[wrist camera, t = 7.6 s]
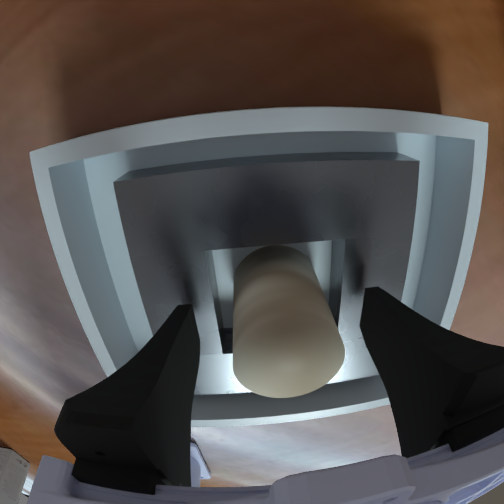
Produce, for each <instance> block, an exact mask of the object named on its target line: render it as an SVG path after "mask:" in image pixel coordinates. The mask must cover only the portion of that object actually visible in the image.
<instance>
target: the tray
mask: <svg viewBox="0 0 504 504" xmlns="http://www.w3.org/2000/svg"><path fill="white" fill-rule="evenodd" d="M487 142H488V123H486V122H481V121H476V120H471V119H466V118H460V117H454V116H448V115H442V114H434V113H426V112H417V111H408V110H396V109H383V108H366V107H335V106H305V107H274V108H256V109H242V110H231V111H220V112H211V113H202V114H194V115H187V116H180V117H173V118H167V119H161V120H155V121H149V122H143V123H138V124H133V125H128V126H123V127H118V128H114V129H109V130H105V131H100V132H96V133H92V134H88V135H84V136H80V137H76V138H72V139H69V140H66V141H62V142H59V143H56V144H52V145H49V146H46V147H43V148H40V149H37V150H34V151H31V152H29V154H30V159H31V165H32V170H33V175H34V179H35V184H36V189H37V193H38V197H39V201H40V205H41V209H42V213H43V217H44V220H45V224H46V227H47V231H48V234H49V238H50V241H51V244H52V247H53V250H54V254H55V257H56V260H57V263H58V265H59V268H60V271H61V274H62V277H63V280H64V282H65V285H66V288H67V290H68V293H69V295H70V298H71V300H72V303H73V305H74V308H75V310H76V313H77V315H78V317H79V320H80V322H81V324H82V327H83V329H84V331H85V333H86V336H87V338H88V340H89V342H90V344H91V346H92V348H93V350H94V352H95V355H96V357H97V359H98V361H99V363H100V365H101V366H102V368H103V370H104V372H105V374H106V376H107V377H109V376H110V375H111V374H113V373H114V372H115V371H117V370H118V369H119V368H121V367H122V366H123V365H125V364H126V363H127V362H128V361H129V360H130V359H131V358H133V357H134V356H135V355H136V354H137V353H138V352H139V351H140V350H141V349H142V348H143V347H144V346H145V345H146V343H147V342H148V341H149V340H150V339H151V338H152V337H153V334H152V331H151V328H150V325H149V322H148V319H147V316H146V312H145V309H144V306H143V303H142V299H141V296H140V293H139V289H138V286H137V282H136V279H135V275H134V271H133V268H132V264H131V260H130V256H129V252H128V248H127V244H126V240H125V236H124V232H123V227H122V223H121V219H120V214H119V209H118V205H117V200H116V195H115V190H114V185H113V182H114V181H115V180H117V179H118V178H120V177H121V176H122V175H124V174H125V173H127V172H128V171H132V170H138V169H144V168H151V167H158V166H165V165H172V164H180V163H188V162H196V161H205V160H214V159H224V158H235V157H247V156H260V155H275V154H294V153H320V152H398V153H401V154H403V155H406V156H408V157H411V158H414V159H416V160H419V161H420V165H419V180H418V193H417V203H416V213H415V221H414V229H413V237H412V244H411V251H410V257H409V263H408V269H407V274H406V280H405V285H404V290H403V295H402V300H401V302H402V303H403V304H405V305H406V306H408V307H409V308H411V309H412V310H414V311H415V312H417V313H419V314H420V315H422V316H424V317H425V318H427V319H429V320H430V321H432V322H434V323H436V324H438V325H440V326H442V327H444V328H446V329H448V330H450V327H451V324H452V321H453V318H454V315H455V312H456V309H457V306H458V303H459V299H460V296H461V293H462V289H463V286H464V282H465V278H466V275H467V271H468V267H469V263H470V259H471V254H472V250H473V245H474V241H475V236H476V231H477V225H478V220H479V214H480V208H481V201H482V194H483V187H484V178H485V169H486V157H487ZM280 245H283V246H288V247H291V248H294V249H296V250H298V251H300V252H301V253H303V254H304V255H305V256H306V257H307V258H308V259H309V261H310V262H311V264H312V266H313V269H314V271H315V273H316V276H317V278H318V281H319V283H320V286H321V288H322V290H323V293H324V295H325V298H326V300H327V303H329V288H330V270H331V249H332V240H329V241H316V242H304V243H292V244H280ZM268 246H271V245H268ZM262 247H265V246H256V247H244V248H232V249H220V250H212V253H213V260H214V267H215V274H216V281H217V287H218V294H219V300H220V307H221V313H222V319H223V325H224V328H233V288H234V275H235V272H236V269H237V267H238V265H239V264H240V263H241V261H242V260H243V259H244V258H245V257H246V256H247V255H249V254H250V253H251V252H253V251H255V250H257V249H259V248H262ZM388 404H390V401H389V398H388V395H387V391H386V389H385V386H384V384H383V381H382V379H381V377H380V375H375V376H370V377H365V378H359V379H354V380H348V381H342V382H336V383H329V384H325V385H324V386H322V387H320V388H319V389H317V390H315V391H312V392H310V393H307V394H304V395H300V396H296V397H289V398H272V397H266V396H262V395H259V394H256V393H253V392H248V393H231V394H206V395H194V398H193V404H192V413H191V427H229V426H248V425H262V424H274V423H284V422H293V421H301V420H308V419H315V418H322V417H328V416H334V415H340V414H346V413H351V412H356V411H361V410H366V409H371V408H375V407H380V406H384V405H388Z"/></svg>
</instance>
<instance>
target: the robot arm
mask: <svg viewBox="0 0 504 504" xmlns="http://www.w3.org/2000/svg"><path fill="white" fill-rule="evenodd" d="M359 326H360V329H361V332H362V336H363V339H364V342H365V345H366V347H367V349H368V351H369V354H370V356H371V358H372V360H373V362H374V364H375V366H376V369H377V371H378V373H379V375H380V377H381V379H382V381H383V384H384V386H385V389H386V391H387V395H388V398H389V401H390V404H391V408H392V412H393V415H394V419H395V423H396V427H397V432H398V437H399V442H400V447H401V454H402V456H399V455H389V456H382V457H378V458H374V459H370V460H366V461H362V462H358V463H353V464H348V465H343V466H338V467H333V468H327V469H321V470H315V471H309V472H303V473H298V474H294V475H289V476H286V477H284V478H282V479H279V480H277V481H276V482H274V483H273V485H266V486H251V487H200V479H210V478H211V474H210V472H209V470H208V468H207V466H206V464H205V462H204V460H203V457H202V455H201V453H200V451H199V449H198V447H197V445H196V444H194V443H190V441H191V413H192V404H193V398H194V392H195V386H196V381H197V375H198V369H199V363H200V342H201V341H200V337H199V332H198V328H197V324H196V319H195V315H194V310H193V305H192V304H183V305H177V306H176V308H175V309H174V310H173V311H172V313H171V314H170V315H169V317H168V318H167V319H166V321H165V322H164V323H163V324H162V326H161V327H160V328H159V329H158V331H157V332H156V333H155V334H154V336H153V337H152V338H151V339H150V340H149V341H148V342H147V343H146V345H145V346H144V347H143V348H142V349H141V350H140V351H139V352H138V353H137V354H136V355H135V356H134V357H133V358H131V359H130V360H129V361H128V362H127V363H126V364H125V365H123V366H122V367H121V368H119V369H118V370H117V371H115V372H114V373H113V374H111V375H110V376H109V377H107V378H106V379H104V380H103V381H101V382H100V383H98V384H96V385H95V386H93V387H91V388H89V389H88V390H86V391H84V392H82V393H80V394H77V395H75V396H73V397H71V398H69V399H67V400H66V401H65V403H64V405H63V407H62V410H61V412H60V415H59V417H58V419H57V422H56V425H55V428H54V431H55V434H56V436H57V437H58V439H59V440H60V441H61V443H62V444H63V445H64V446H65V447H66V448H67V449H68V450H69V451H70V452H71V453H72V454H73V455H74V456H75V457H76V461H75V464H74V465H73V464H72V463H70V462H68V461H65V460H61V459H57V458H53V457H50V456H46V455H43V456H42V459H41V462H40V465H39V467H38V470H37V473H36V476H35V479H34V482H33V486H32V489H31V492H30V495H29V498H28V502H27V504H467V503H469V502H471V501H473V500H474V499H476V498H478V497H480V496H481V495H483V494H485V493H486V492H488V491H490V490H491V489H493V488H495V487H496V486H498V485H499V484H501V483H502V482H504V347H502V346H496V345H491V344H487V343H483V342H480V341H476V340H473V339H470V338H467V337H465V336H462V335H459V334H457V333H454V332H452V331H450V330H448V329H446V328H444V327H442V326H440V325H438V324H436V323H434V322H432V321H430V320H429V319H427V318H425V317H424V316H422V315H420V314H419V313H417V312H415V311H414V310H412V309H411V308H409V307H408V306H406V305H405V304H403V303H402V302H401V301H399V300H398V299H396V298H395V297H393V296H392V295H390V294H389V293H388V292H386V291H385V290H383V289H381V288H380V287H378V286H377V287H369V288H365V291H364V299H363V306H362V312H361V319H360V325H359Z"/></svg>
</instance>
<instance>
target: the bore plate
mask: <svg viewBox="0 0 504 504" xmlns="http://www.w3.org/2000/svg"><path fill="white" fill-rule="evenodd" d="M419 165H420V161H419V160H416V159H414V158H411V157H408V156H406V155H403V154H401V153H398V152H320V153H294V154H275V155H260V156H247V157H235V158H224V159H214V160H205V161H196V162H188V163H180V164H172V165H165V166H158V167H151V168H144V169H138V170H132V171H128V172H127V173H125V174H124V175H122V176H121V177H120V178H118V179H117V180H115V181H114V182H113V185H114V190H115V195H116V200H117V205H118V209H119V214H120V219H121V223H122V227H123V232H124V236H125V240H126V244H127V248H128V252H129V256H130V260H131V264H132V268H133V271H134V275H135V279H136V282H137V286H138V289H139V293H140V296H141V299H142V303H143V306H144V309H145V312H146V316H147V319H148V322H149V325H150V328H151V331H152V334H153V336H154V334H155V333H156V332H157V331H158V329H159V328H160V327H161V326H162V324H163V323H164V322H165V321H166V319H167V318H168V317H169V315H170V314H171V313H172V311H173V310H174V309H175V308H176V306H177V305H183V304H192V305H193V310H194V315H195V319H196V324H197V328H198V332H199V337H200V341H201V342H200V363H199V369H198V375H197V381H196V386H195V392H194V395H206V394H231V393H248V392H251V391H249V390H248V389H246V388H245V387H244V386H243V385H241V384H240V382H239V381H238V380H237V378H236V377H235V374H234V372H233V328H224V325H223V319H222V313H221V307H220V300H219V294H218V287H217V281H216V274H215V267H214V260H213V253H212V250H220V249H232V248H244V247H256V246H268V245H280V244H292V243H304V242H316V241H329V240H332V249H331V270H330V288H329V303H328V305H329V308H330V310H331V313H332V315H333V318H334V320H335V323H336V326H337V328H338V331H339V333H340V336H341V338H342V341H343V344H344V347H345V358H344V362H343V365H342V367H341V368H340V370H339V372H338V373H337V374H336V375H335V376H334V377H333V379H331V380H330V381H329V382H328V383H327V384H329V383H336V382H342V381H348V380H354V379H359V378H365V377H370V376H375V375H379V373H378V371H377V369H376V366H375V364H374V362H373V360H372V358H371V356H370V354H369V351H368V349H367V347H366V345H365V342H364V339H363V336H362V332H361V329H360V326H359V325H360V319H361V312H362V306H363V299H364V291H365V288H369V287H377V286H378V287H380V288H381V289H383V290H385V291H386V292H388V293H389V294H390V295H392V296H393V297H395V298H396V299H398V300H399V301H401V300H402V295H403V290H404V285H405V280H406V274H407V269H408V263H409V257H410V251H411V244H412V237H413V229H414V221H415V213H416V203H417V193H418V180H419Z"/></svg>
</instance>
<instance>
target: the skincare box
mask: <svg viewBox="0 0 504 504" xmlns="http://www.w3.org/2000/svg"><path fill="white" fill-rule="evenodd" d="M29 468H30V463H28V462H27V461H26V460H25V459H24V458H22V457H21V456H20V455H19V454H17V453H16V452H15V451H13V450H11V449H6V448H1V447H0V504H18V502H19V499H20V495H21V492H22V489H23V486H24V483H25V479H26V476H27V473H28V470H29Z"/></svg>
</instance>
